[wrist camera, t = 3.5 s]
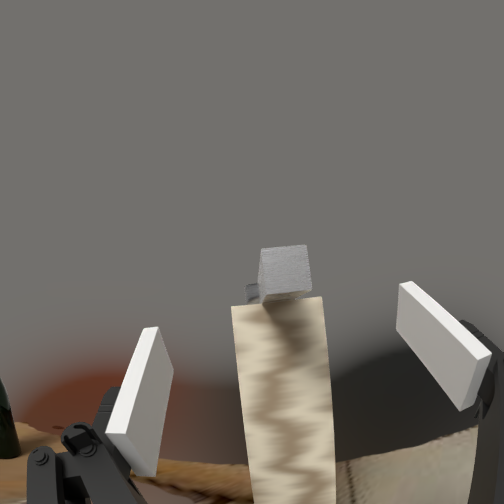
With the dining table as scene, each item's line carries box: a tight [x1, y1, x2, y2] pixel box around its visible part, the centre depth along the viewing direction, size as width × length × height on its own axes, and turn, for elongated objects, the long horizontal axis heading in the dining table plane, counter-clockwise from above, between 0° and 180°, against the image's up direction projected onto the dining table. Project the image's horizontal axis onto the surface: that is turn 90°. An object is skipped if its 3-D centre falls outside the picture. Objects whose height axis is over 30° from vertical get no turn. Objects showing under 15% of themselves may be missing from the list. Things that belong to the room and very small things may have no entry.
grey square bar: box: [245, 245, 312, 305], centre depth 33 cm, size 6×25×5 cm, turn 0°
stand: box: [231, 297, 336, 504], centre depth 35 cm, size 9×16×34 cm, turn 0°
